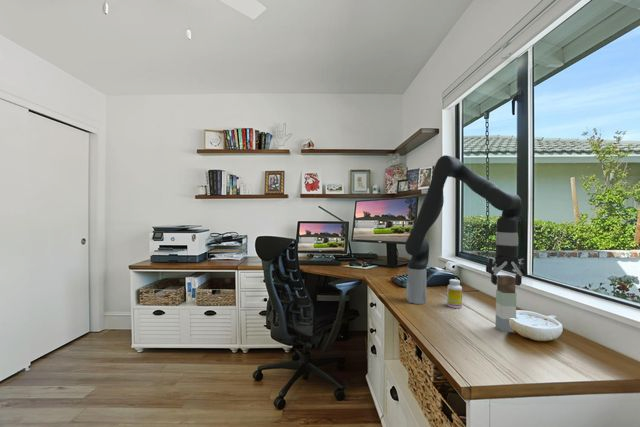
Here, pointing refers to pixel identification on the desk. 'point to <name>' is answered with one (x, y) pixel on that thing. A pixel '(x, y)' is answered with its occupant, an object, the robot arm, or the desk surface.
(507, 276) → the walnut block
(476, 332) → the desk surface
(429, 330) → the desk surface
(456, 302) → the supplement bottle
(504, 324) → the tower base
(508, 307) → the tower mid
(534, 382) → the desk surface
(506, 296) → the tower top
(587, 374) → the desk surface
